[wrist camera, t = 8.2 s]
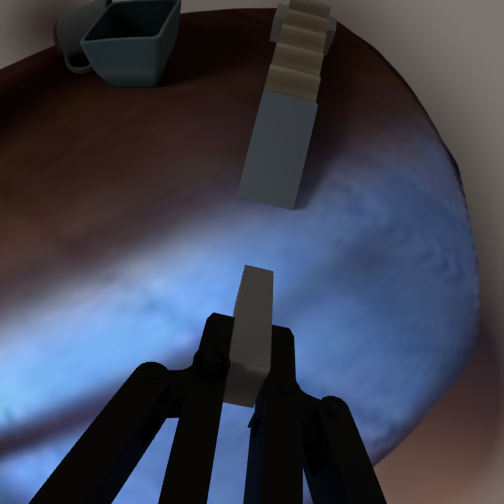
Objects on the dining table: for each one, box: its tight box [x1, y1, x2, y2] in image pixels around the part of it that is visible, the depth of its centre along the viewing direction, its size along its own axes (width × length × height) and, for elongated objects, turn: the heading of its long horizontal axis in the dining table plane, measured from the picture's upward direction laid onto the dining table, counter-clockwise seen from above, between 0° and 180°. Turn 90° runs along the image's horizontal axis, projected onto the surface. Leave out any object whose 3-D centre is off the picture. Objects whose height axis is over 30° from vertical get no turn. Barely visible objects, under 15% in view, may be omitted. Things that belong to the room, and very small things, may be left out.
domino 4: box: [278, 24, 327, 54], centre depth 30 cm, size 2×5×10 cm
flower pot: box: [79, 0, 181, 87], centre depth 28 cm, size 9×9×9 cm
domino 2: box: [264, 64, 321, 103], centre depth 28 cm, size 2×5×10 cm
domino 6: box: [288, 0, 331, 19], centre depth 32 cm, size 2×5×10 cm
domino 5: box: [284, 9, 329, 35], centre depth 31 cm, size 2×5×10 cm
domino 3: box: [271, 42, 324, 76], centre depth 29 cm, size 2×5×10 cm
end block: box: [270, 4, 336, 56], centre depth 34 cm, size 4×8×4 cm, turn 78°
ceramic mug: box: [53, 0, 113, 74], centre depth 29 cm, size 11×8×8 cm
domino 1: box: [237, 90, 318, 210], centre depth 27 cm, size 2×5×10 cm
